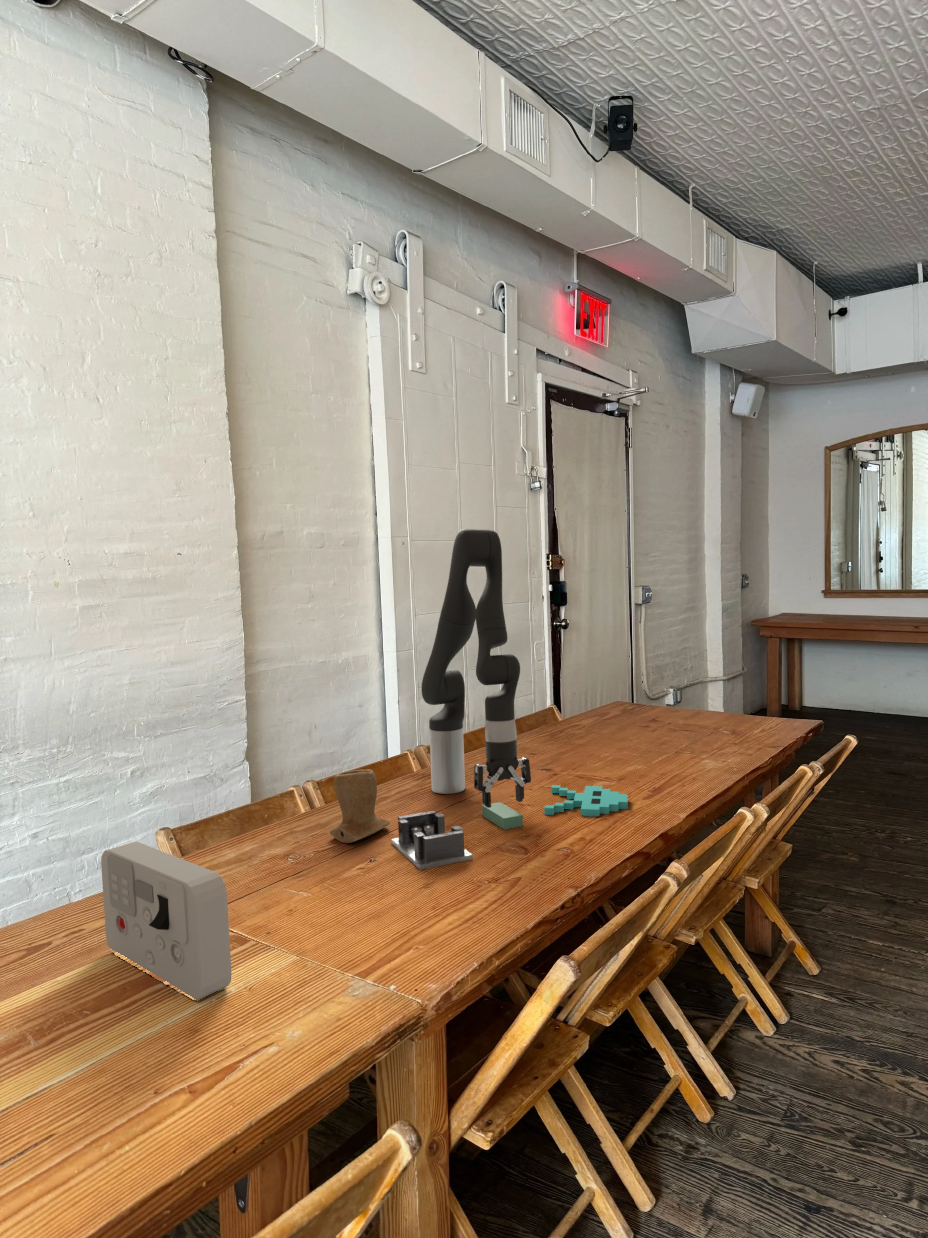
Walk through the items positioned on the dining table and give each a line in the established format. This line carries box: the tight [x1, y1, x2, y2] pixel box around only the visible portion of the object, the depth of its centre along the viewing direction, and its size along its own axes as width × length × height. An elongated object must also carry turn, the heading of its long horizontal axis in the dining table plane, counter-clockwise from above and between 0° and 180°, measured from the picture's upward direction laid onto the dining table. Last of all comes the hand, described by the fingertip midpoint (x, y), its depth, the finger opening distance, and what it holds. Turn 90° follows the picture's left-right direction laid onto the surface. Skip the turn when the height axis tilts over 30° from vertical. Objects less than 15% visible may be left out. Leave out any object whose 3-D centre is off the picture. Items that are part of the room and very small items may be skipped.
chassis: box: [390, 810, 474, 870], centre depth 182 cm, size 18×12×6 cm, turn 24°
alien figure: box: [543, 784, 629, 817], centre depth 213 cm, size 20×2×20 cm
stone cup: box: [329, 769, 391, 844], centre depth 195 cm, size 15×12×15 cm
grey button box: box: [100, 841, 233, 1001], centre depth 131 cm, size 29×8×18 cm, turn 50°
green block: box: [481, 801, 524, 830], centre depth 202 cm, size 12×5×3 cm, turn 24°
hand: (503, 804), depth 201 cm, fingers open, 8 cm apart
